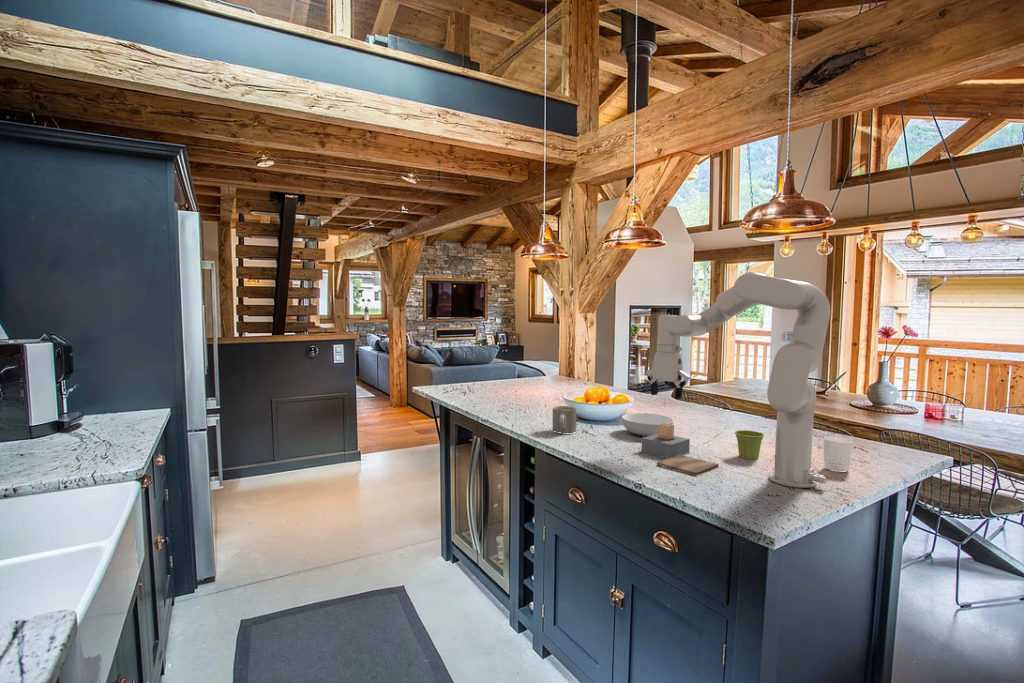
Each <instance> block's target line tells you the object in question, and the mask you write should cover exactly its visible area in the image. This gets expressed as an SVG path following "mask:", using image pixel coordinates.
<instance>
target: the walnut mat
mask: <svg viewBox="0 0 1024 683" xmlns="http://www.w3.org/2000/svg"><path fill="white" fill-rule="evenodd" d="M658 465H659V466H658ZM656 466H658V467H662V466H664V467H663V468H665V467H667V468H666V469H669V468H671V469H670V470H673V469H675V470H674V471H676V470H679V471H678V472H680V471H683V472H682V473H684V472H686V473H685V474H687V473H690V474H689V475H691V474H694V475H693V476H695V475H698V474H700V475H702V474H701V473H703V474H705V473H707V471H708V472H711V471H712V469H713V470H715V469H718V468H719V463H715V462H711V461H707V460H702V459H699V458H695V457H690V456H687V455H678V456H675V457H672V458H665V459H663V460H660V461H657V462H656ZM704 472H705V473H704ZM698 476H699V475H698Z"/></svg>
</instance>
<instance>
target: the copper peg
mask: <svg viewBox="0 0 1024 683" xmlns="http://www.w3.org/2000/svg"><path fill="white" fill-rule="evenodd" d="M674 436H675V425H674V424H673V425H671V424H666V423H663V424H659V425H658V439H660V440H665V441H671V440H674Z"/></svg>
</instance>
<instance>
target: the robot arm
mask: <svg viewBox="0 0 1024 683" xmlns="http://www.w3.org/2000/svg"><path fill="white" fill-rule="evenodd" d="M757 304H758V305H763V306H767V307H771V308H776V309H779V310H780V309H781V310H785V311H796V313H797V315H796V319H795V321H794V324H793V328H792V334H791V338H790V342H788V343H786V344H784V345H782V346H781V347H780V348H779V349H778V350H777V352H776V354H775V356H774V358H773V362H772V367H771V370H770V371H771V372H770V376H769V382H768V386H767V391H766V392H767V394H766V395H767V396H766V397H767V401H768V403H769V404H770V406H771V407H772V408H773V409H774V410H776V411H777V416H776V428H775V446H774V447H775V449H774V450H775V452H774V453H775V455H774V471H771V472H768V479H769V480H770V481H772V482H774V483H776V484H779V485H781V486H786V487H792V488H799V489H800V488H801V489H805V488H806V489H807V488H814V487H816V486H817V483H819V484H824V485H825V484H827V483H826V482H827V477H825V475H824V474H818V473H816V472H815V468H814V467H812V447H813V445H812V444H813V430H814V429H813V428H814V414H815V409H816V404H817V391H816V387H815V386H814V385H813V383H812V382H811V381H810V380H808V379H809V375H810V373H812V372H815V370H817V369H818V368H819V366H820V364H821V361H822V358H823V357H822V356H823V350H824V347H825V341H826V338H827V331H828V328H829V323H830V317H831V304H830V301H829V299H828V297H827V295H826V294H825V293H824V292H823V291H822V289H820V288H818V287H817V286H815V285H814V284H811V283H809V282H806V281H801V280H792V279H786V278H779V277H775V276H769V275H766V274H763V273H758V272H746V273H743V274H741V275H740V276H739V277H737V279H735V281H734V285H733V286H731V287H729V288H728V289H726V290H724V291H722V292H720V293H718V294H717V296H716V297H715V302H714V304H712V305H711V306H709V307H708V308H706V309H705V310H703V311H701V312H699V313H697V314H683V315H682V314H681V315H676V314H661V315H659V317H658V319H657V339H656V340H657V342H656V343H657V344H656V352H655V353H654V357H653V362H652V367H651V368H650V369H647V370H646V371H645V375H646V377H647V378H646V379H647V380H648V381H649V384H650V395H651V396H655V395H658V394H659V393H658V392H659V391H658V390H659V383H658V381H662V382H663V381H664V382H671V383H674V384H675V386H676V387H675V389H674V399H675V400H681V399H682V396H683V388H684V387H685V386H686V385H687V384H688V382H689V380H690V378H691V377H690V375H688V374H687V373H686V372H685V371H684V369H683V367H684V366H683V365H684V364H683V357H682V354H681V353H680V352H682V351H683V348H682V347H680V337H684V338H686V337H687V338H688V337H690V338H691V337H700V336H703V335H705V334H707V333H709V332H711V331H713V330H715V329H717V328H719V327H720V326H722V325H724V324H725V323H726V322H728V321H729V320H731V319H732V318H733V317H735V316H737V315H738V314H740V313H743V312H745V311H746V310H748V309H750V308H751V307H753V306H756V305H757Z"/></svg>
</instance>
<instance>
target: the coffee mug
mask: <svg viewBox="0 0 1024 683" xmlns="http://www.w3.org/2000/svg"><path fill="white" fill-rule="evenodd" d="M552 430H553V431H556V432H561V433H573V432H576V433H577V407H574V406H569V405H557V406H554V407H552ZM553 431H552V432H553Z"/></svg>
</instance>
